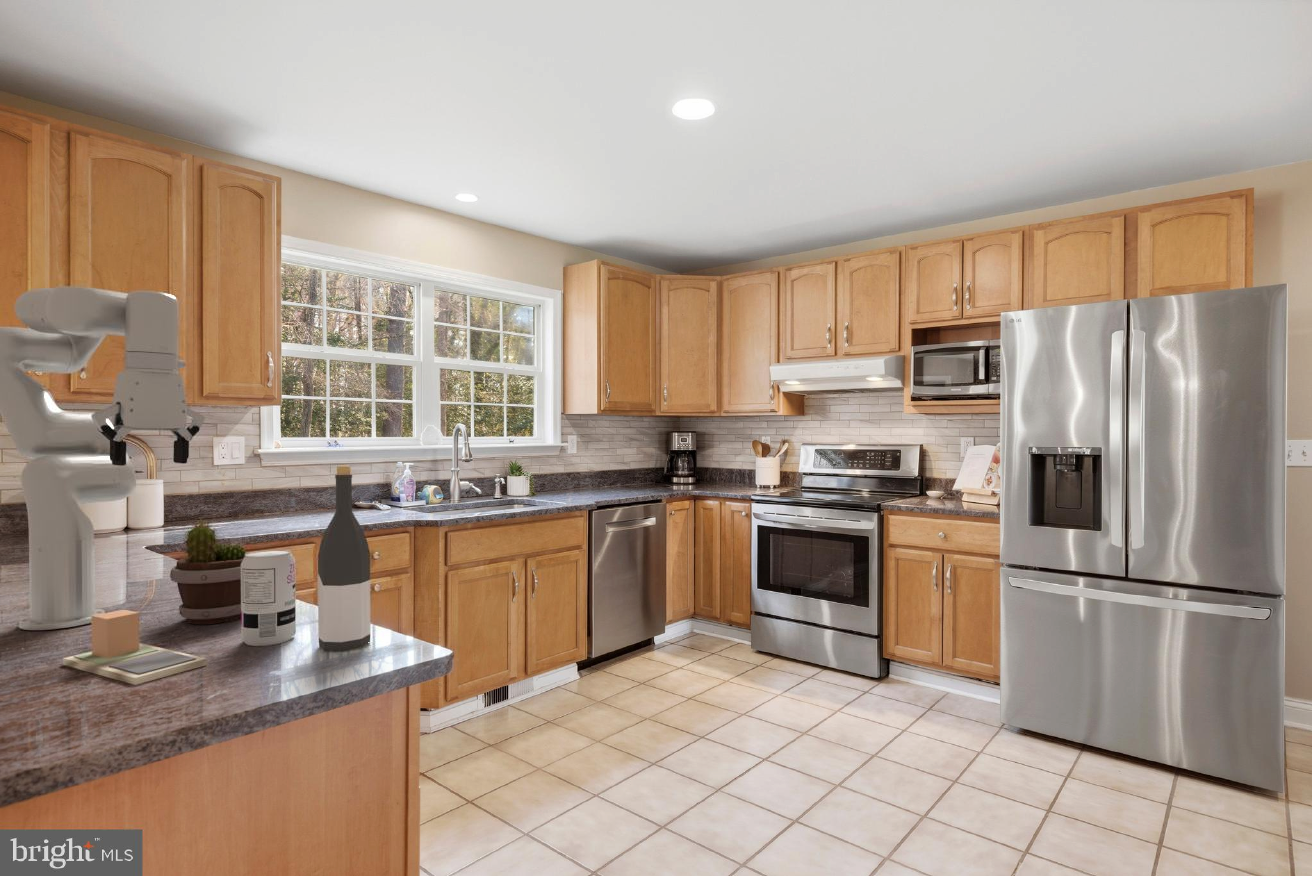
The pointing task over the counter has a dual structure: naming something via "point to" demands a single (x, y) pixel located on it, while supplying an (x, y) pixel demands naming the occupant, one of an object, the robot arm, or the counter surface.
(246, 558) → the supplement can
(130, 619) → the block
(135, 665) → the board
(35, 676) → the counter surface
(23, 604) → the counter surface
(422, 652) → the counter surface
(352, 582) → the wine bottle
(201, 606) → the flowerpot
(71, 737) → the counter surface
